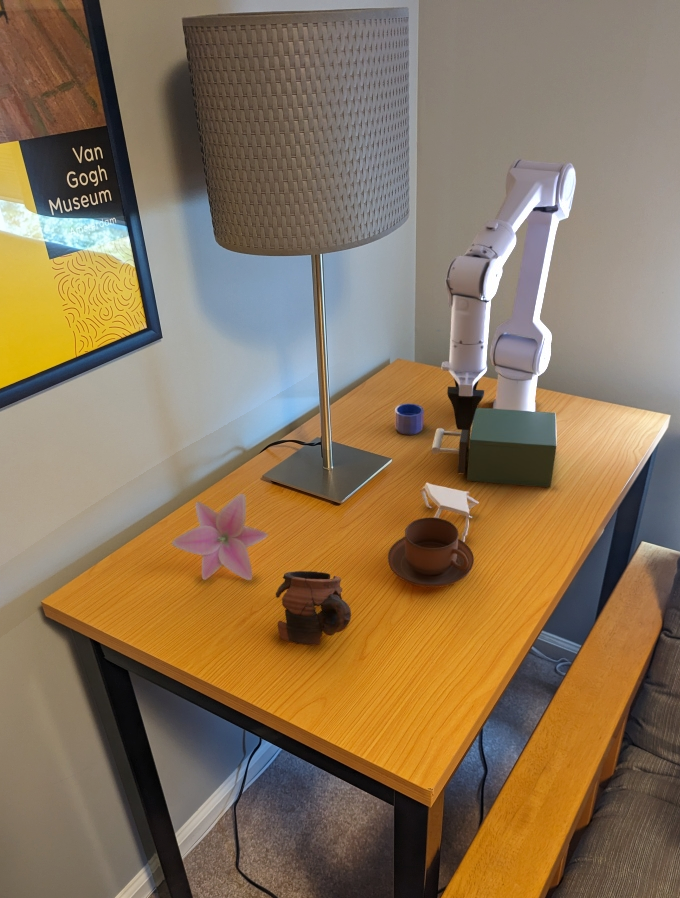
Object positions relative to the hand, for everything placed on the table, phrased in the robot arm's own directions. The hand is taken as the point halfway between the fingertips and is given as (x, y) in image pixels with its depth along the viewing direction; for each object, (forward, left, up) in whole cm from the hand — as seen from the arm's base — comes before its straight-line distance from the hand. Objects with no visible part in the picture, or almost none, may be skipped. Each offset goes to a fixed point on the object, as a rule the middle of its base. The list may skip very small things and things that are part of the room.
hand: (464, 417), depth 121 cm
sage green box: (-2, +8, -10) cm, 13 cm away
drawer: (-2, +4, -9) cm, 9 cm away
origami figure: (+16, -1, -10) cm, 19 cm away
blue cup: (-12, -11, -10) cm, 19 cm away
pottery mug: (+42, -15, -10) cm, 46 cm away
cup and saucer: (+28, -2, -10) cm, 30 cm away
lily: (+32, -31, -10) cm, 46 cm away
